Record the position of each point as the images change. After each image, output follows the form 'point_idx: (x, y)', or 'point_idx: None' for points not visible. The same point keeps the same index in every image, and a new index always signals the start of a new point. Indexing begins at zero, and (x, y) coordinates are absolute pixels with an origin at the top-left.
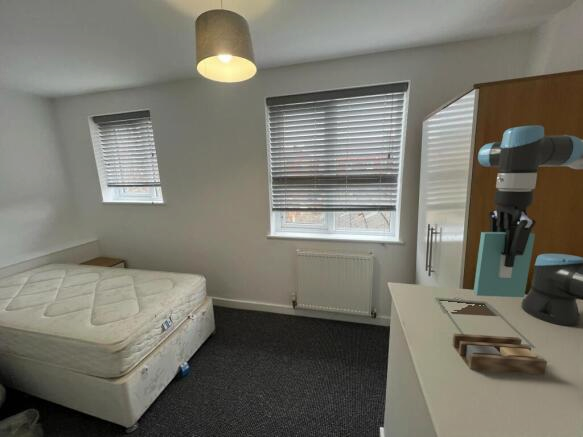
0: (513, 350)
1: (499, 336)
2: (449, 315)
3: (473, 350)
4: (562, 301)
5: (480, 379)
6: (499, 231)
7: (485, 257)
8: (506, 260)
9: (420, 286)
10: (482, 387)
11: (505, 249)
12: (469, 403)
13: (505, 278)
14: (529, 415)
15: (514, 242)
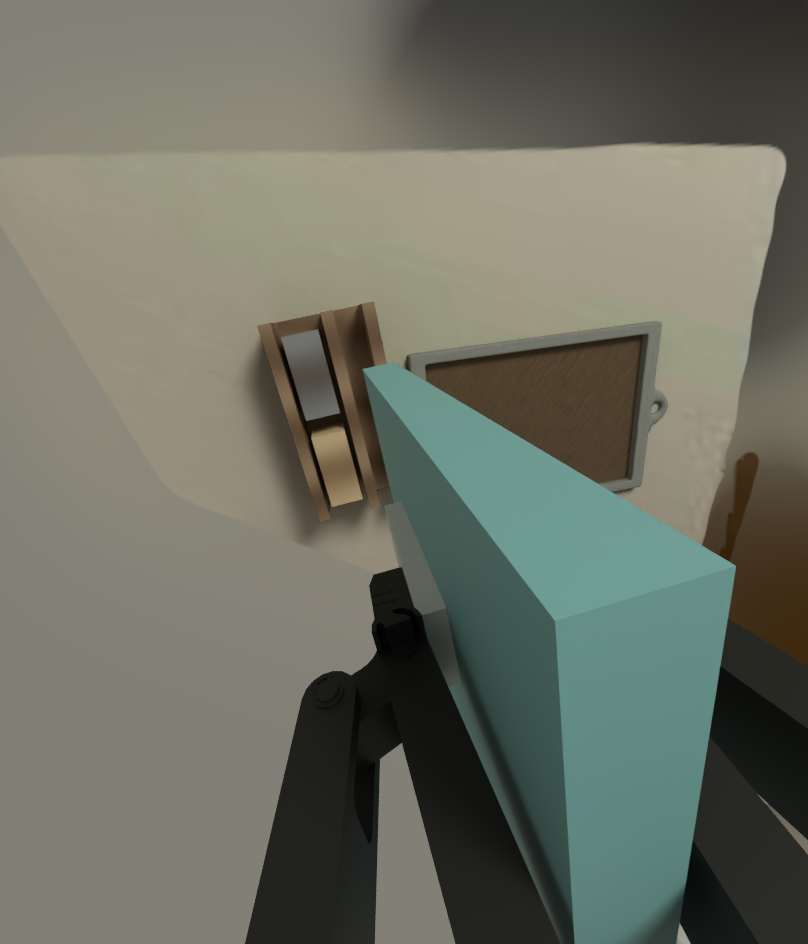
0: (340, 460)
1: None
2: (544, 343)
3: (292, 341)
4: None
5: (247, 346)
6: (724, 869)
7: (409, 457)
8: (395, 604)
9: (755, 286)
10: (215, 341)
11: (421, 674)
12: (127, 282)
13: None
14: (166, 420)
15: (295, 875)
